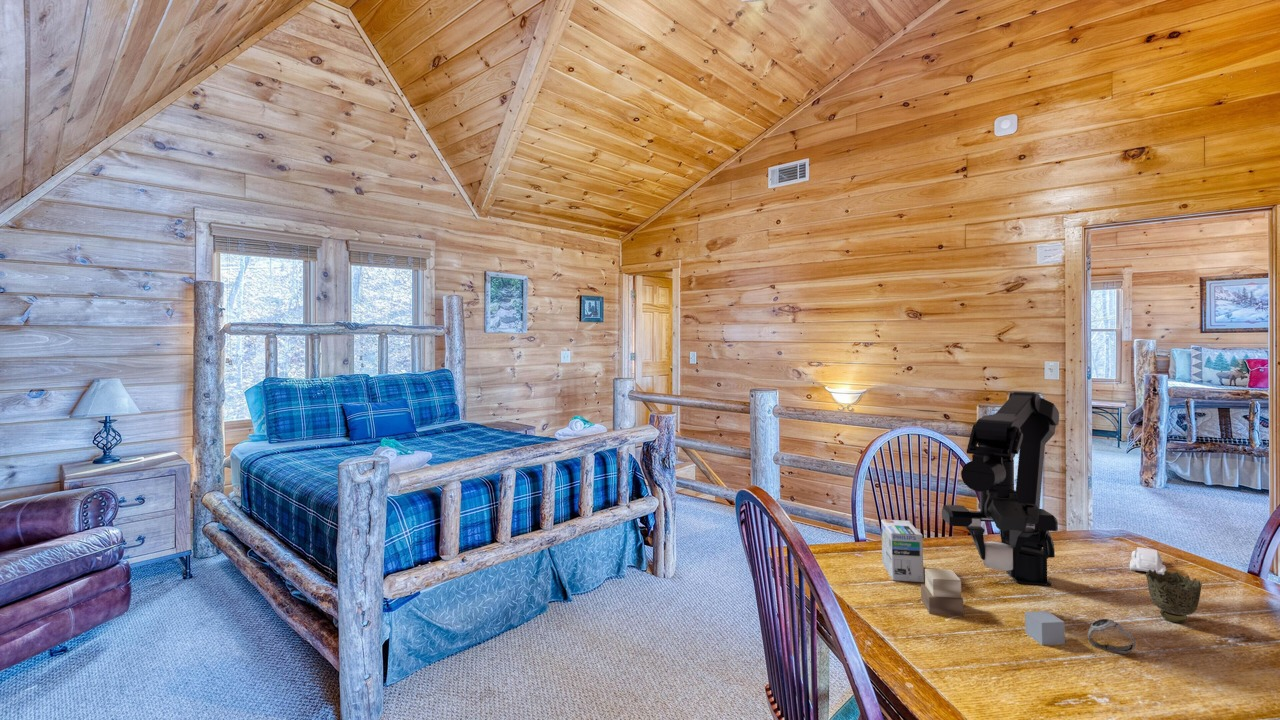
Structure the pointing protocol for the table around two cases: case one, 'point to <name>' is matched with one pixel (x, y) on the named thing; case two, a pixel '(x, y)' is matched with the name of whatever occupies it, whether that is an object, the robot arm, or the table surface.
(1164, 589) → the cup
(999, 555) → the white cylinder
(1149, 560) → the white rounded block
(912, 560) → the light bulb box
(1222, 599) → the table surface
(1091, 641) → the wristwatch
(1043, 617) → the block
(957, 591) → the tower top
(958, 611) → the tower base
